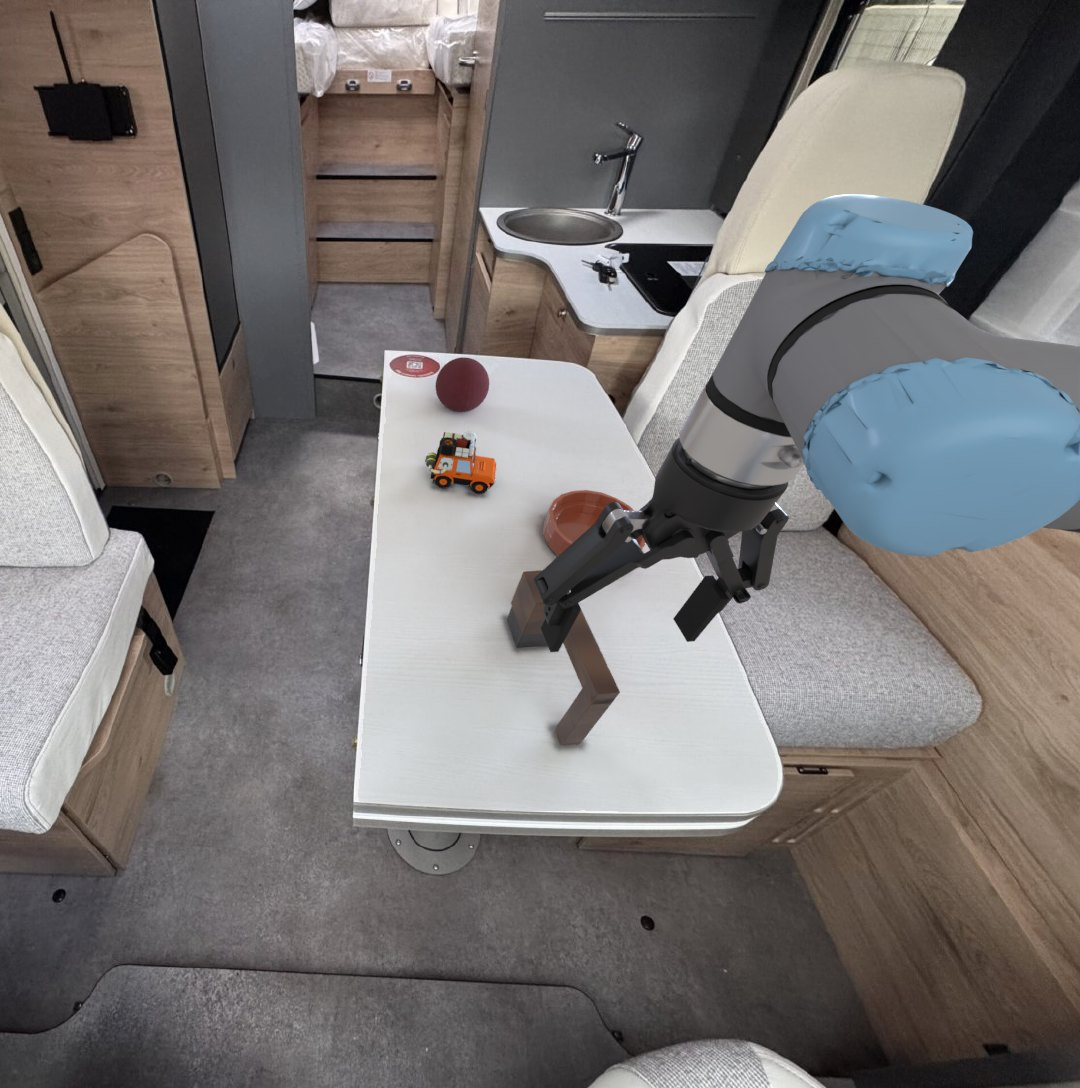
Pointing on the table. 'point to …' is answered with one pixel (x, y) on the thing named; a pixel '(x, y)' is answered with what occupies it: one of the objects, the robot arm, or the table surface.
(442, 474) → the toy car
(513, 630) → the brown wooden mallet
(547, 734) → the table surface
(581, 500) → the bowl
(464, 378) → the decorative ball
